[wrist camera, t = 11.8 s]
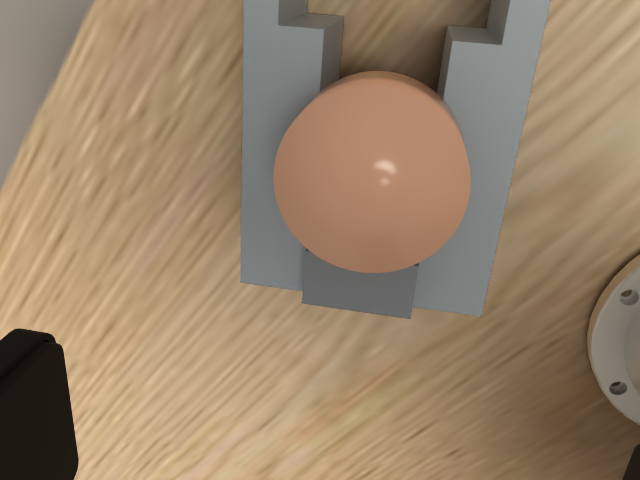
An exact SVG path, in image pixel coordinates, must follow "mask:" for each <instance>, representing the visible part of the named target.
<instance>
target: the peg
mask: <svg viewBox="0 0 640 480" xmlns="http://www.w3.org/2000/svg"><path fill="white" fill-rule="evenodd" d="M273 181H274V192H275V197H276V201H277V204H278V207H279V210H280V213H281V215H282V217H283V219H284V221H285V223H286V225H287V226H288V228H289V229H290V231H291V232H292V234H293V235H294V236H295V237H296V238H297V239H298V240H299V242H300V243H301V244H302V245H304V246H305V247H306V248H307V249H308V250H309V251H311V252H312V253H313V254H315V255H316V256H318V257H319V258H321V259H323V260H324V261H326V262H328V263H330V264H333V265H335V266H338V267H340V268H344V269H347V270H351V271H356V272H363V273H385V272H392V271H397V270H401V269H404V268H407V267H410V266H413V265H415V264H417V263H419V262H421V261H423V260H425V259H426V258H428V257H430V256H431V255H433V254H434V253H435V252H436V251H438V250H439V249H440V248H441V247H442V246H443V245H444V244H445V243H446V242H447V241H448V240H449V239H450V238H451V236H452V235H453V234H454V232H455V231H456V229H457V228H458V226H459V224H460V222H461V220H462V219H463V216H464V213H465V211H466V208H467V205H468V200H469V196H470V185H471V178H470V167H469V163H468V158H467V153H466V149H465V144H464V140H463V135H462V131H461V129H460V126H459V123H458V121H457V119H456V117H455V116H454V114H453V112H452V110H451V109H450V108H449V106H448V105H447V104H446V102H445V101H444V100H443V99H442V98H441V97H440V96H439V95H438V94H437V93H436V92H434V91H433V90H432V89H431V88H429V87H428V86H426V85H425V84H423V83H421V82H420V81H418V80H416V79H413V78H411V77H408V76H406V75H402V74H398V73H394V72H387V71H367V72H361V73H356V74H352V75H349V76H346V77H344V78H341V79H339V80H337V81H335V82H333V83H332V84H330V85H328V86H327V87H325V88H324V89H323V90H322V91H320V92H319V93H318V94H317V95H316V96H315V97H314V98H313V99H312V100H311V101H310V102H309V103H308V105H307V106H306V107H305V108H304V109H303V111H302V112H301V113H300V114H299V115H298V117H297V118H296V119H295V120H294V121H293V123H292V124H291V126H290V127H289V128H288V130H287V131H286V133H285V135H284V137H283V139H282V141H281V143H280V146H279V148H278V151H277V154H276V159H275V164H274V175H273Z"/></svg>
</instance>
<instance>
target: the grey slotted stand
mask: <svg viewBox="0 0 640 480" xmlns="http://www.w3.org/2000/svg"><path fill="white" fill-rule="evenodd" d="M550 1H551V0H491V4H490V10H489V15H488V21H487V26H486V28H475V27H463V26H452V25H447V29H446V36H445V42H444V49H443V55H442V62H441V69H440V75H439V82H438V88H437V94H438V95H439V96H440V97H441V98H442V99H443V100H444V101H445V102H446V104H447V105H448V106H449V108H450V109H451V110H452V112H453V114H454V116H455V117H456V119H457V121H458V123H459V126H460V129H461V131H462V135H463V140H464V144H465V149H466V153H467V158H468V163H469V167H470V178H471V185H470V196H469V200H468V205H467V208H466V211H465V213H464V216H463V219H462V220H461V222H460V224H459V226H458V228H457V229H456V231H455V232H454V234H453V235H452V236H451V238H450V239H449V240H448V241H447V242H446V243H445V244H444V245H443V246H442V247H441V248H440V249H439V250H438V251H436V252H435V253H434V254H433V255H431V256H430V257H428V258H426V259H425V260H423V261H421V262H419V263H417V264H415V265H413V266H410V267H407V268H404V269H401V270H397V271H392V272H385V273H363V272H356V271H351V270H347V269H344V268H340V267H338V266H335V265H333V264H330V263H328V262H326V261H324V260H323V259H321V258H319V257H318V256H316V255H315V254H313V253H312V252H311V251H309V250H308V249H307V248H306V247H305V246H304V245H302V244H301V243H300V242H299V240H298V239H297V238H296V237H295V236H294V235H293V234H292V232H291V231H290V229H289V228H288V226H287V225H286V223H285V221H284V219H283V217H282V215H281V213H280V210H279V207H278V204H277V201H276V197H275V192H274V181H273V175H274V164H275V159H276V154H277V151H278V148H279V146H280V143H281V141H282V139H283V137H284V135H285V133H286V131H287V130H288V128H289V127H290V126H291V124H292V123H293V121H294V120H295V119H296V118H297V117H298V115H299V114H300V113H301V112H302V111H303V109H304V108H305V107H306V106H307V105H308V103H309V102H310V101H311V100H312V99H313V98H314V97H315V96H316V95H317V94H318V93H319V92H320V91H322V90H323V89H324V88H325V87H327V86H328V85H330V84H332V83H333V82H335V81H337V80H339V76H340V64H341V51H342V39H343V26H344V16H336V15H325V14H313V13H307V10H308V0H244V15H243V106H242V197H241V283H248V284H255V285H262V286H269V287H276V288H283V289H290V290H297V291H303V299H302V303H303V304H310V305H317V306H324V307H331V308H337V309H344V310H351V311H358V312H365V313H372V314H379V315H386V316H393V317H400V318H407V319H410V318H411V312H412V307H417V308H424V309H432V310H439V311H446V312H453V313H460V314H467V315H474V316H482V312H483V307H484V303H485V298H486V293H487V289H488V284H489V280H490V275H491V271H492V266H493V261H494V257H495V252H496V248H497V243H498V239H499V234H500V230H501V225H502V220H503V216H504V211H505V207H506V202H507V198H508V193H509V188H510V184H511V179H512V175H513V170H514V166H515V161H516V157H517V152H518V147H519V143H520V138H521V134H522V129H523V125H524V120H525V115H526V111H527V106H528V102H529V97H530V93H531V88H532V84H533V79H534V74H535V70H536V65H537V61H538V56H539V52H540V47H541V42H542V38H543V33H544V29H545V24H546V20H547V15H548V11H549V6H550Z"/></svg>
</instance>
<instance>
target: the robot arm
mask: <svg viewBox="0 0 640 480" xmlns="http://www.w3.org/2000/svg"><path fill="white" fill-rule="evenodd" d="M626 290H627V291H626ZM624 291H626V292H624ZM587 352H588V357H589V360H590V364H591V368H592V371H593V373H594V376H595V378H596V380H597V382H598V384H599V387H600V389H601V390H602V392H603V393H604V394H605V396H606V397H607V399H608V400H609V401H610V403H611V404H612V405H613V406H614V407H615V408H616V409H618V410H619V411H620V412H621V413H622V414H623V415H624V416H626V417H627V418H628V419H630V420H632V421H634V422H635V423H637V424H639V425H640V255H638V256H637V257H636V258H634V259H633V260H631V261H630V262H629V263H628V264H627V265H626V266H625V267H624V268H623V269H622V270H621V271H620V272H619V273H618V274H617V275H616V276H614V278H613V279H612V280H611V282H610V283H609V284H608V286H607V287H606V288H605V290H604V291H603V293H602V294H601V295H600V297H599V299H598V302H597V304H596V306H595V308H594V310H593V312H592V315H591V318H590V323H589V328H588V332H587ZM77 469H78V453H77V445H76V438H75V431H74V424H73V417H72V409H71V402H70V395H69V388H68V381H67V373H66V366H65V359H64V352H63V348H62V346H61V345H60V344H57V343H56V341H55V338H54V337H53V336H52V335H51V334H49V333H43V332H38V331H32V330H26V329H14V330H13V331H11V332H10V333H8V334H7V335H6V336H5V337H4V338H3V339H1V340H0V480H73V479H74V477H75V475H76V472H77ZM622 480H640V444H639V445H637V446H636V447H635V449H634V451H633V454H632V456H631V459H630V461H629V464H628V466H627V469H626V472H625V474H624V477H623V479H622Z"/></svg>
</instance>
